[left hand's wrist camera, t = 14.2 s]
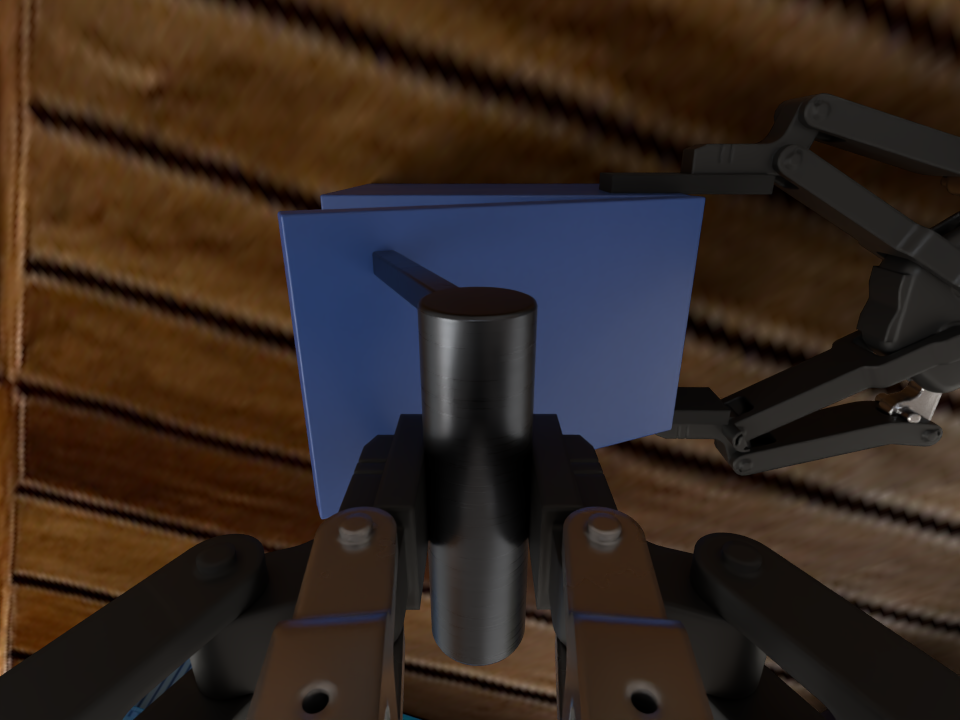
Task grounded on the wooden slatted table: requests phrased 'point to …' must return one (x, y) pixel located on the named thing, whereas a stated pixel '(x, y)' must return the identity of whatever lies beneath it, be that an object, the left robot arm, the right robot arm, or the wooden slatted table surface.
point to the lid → (485, 362)
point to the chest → (464, 194)
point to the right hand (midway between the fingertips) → (595, 302)
